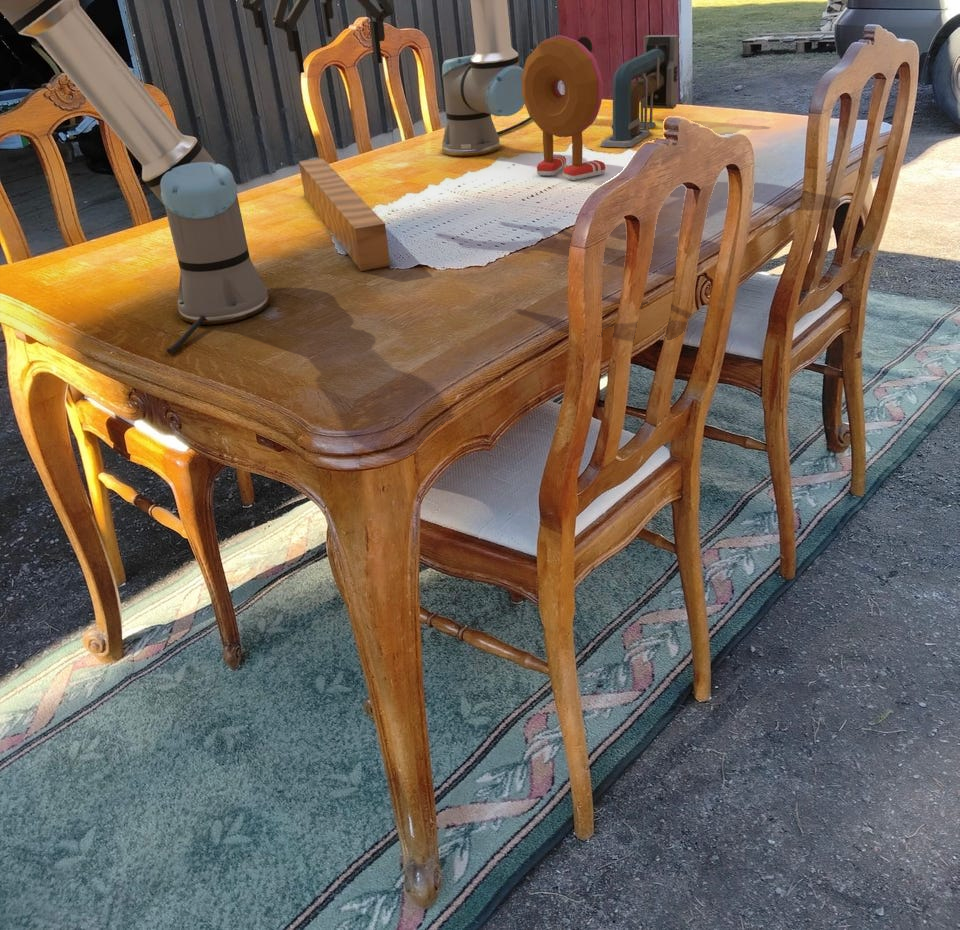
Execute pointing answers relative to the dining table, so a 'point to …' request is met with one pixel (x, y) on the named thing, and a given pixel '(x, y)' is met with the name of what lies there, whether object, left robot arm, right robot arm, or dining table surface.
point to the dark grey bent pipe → (643, 90)
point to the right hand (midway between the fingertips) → (297, 40)
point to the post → (345, 215)
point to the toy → (563, 100)
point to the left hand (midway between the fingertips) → (339, 67)
